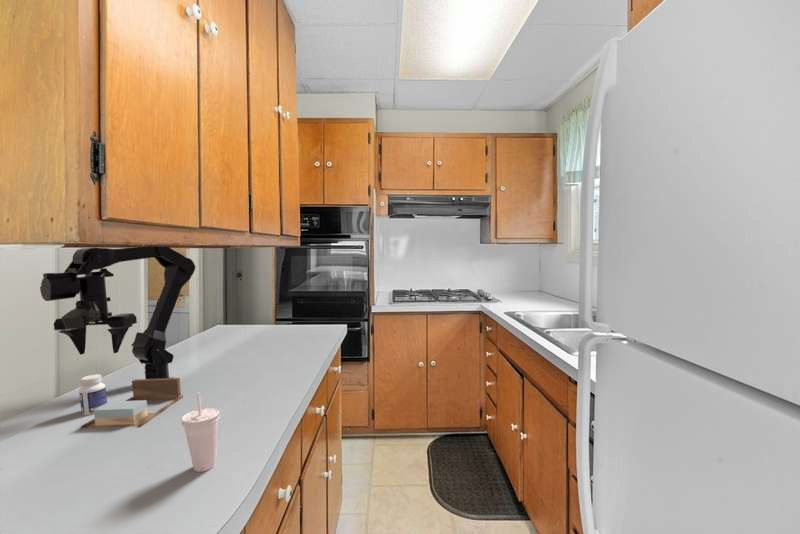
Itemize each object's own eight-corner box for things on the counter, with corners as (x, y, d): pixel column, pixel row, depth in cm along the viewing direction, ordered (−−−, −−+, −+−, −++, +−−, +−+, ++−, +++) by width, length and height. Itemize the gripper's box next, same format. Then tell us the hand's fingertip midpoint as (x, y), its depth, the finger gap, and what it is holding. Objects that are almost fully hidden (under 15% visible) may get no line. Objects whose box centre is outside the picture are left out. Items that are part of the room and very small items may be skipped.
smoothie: (181, 478, 74) (174, 400, 73) (189, 460, 80) (183, 388, 79) (221, 471, 76) (215, 395, 75) (225, 454, 82) (220, 383, 81)
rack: (133, 401, 113) (131, 379, 112) (184, 400, 112) (182, 377, 112) (81, 432, 95) (78, 406, 95) (141, 430, 94) (139, 404, 94)
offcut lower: (111, 416, 101) (110, 408, 101) (148, 415, 101) (147, 407, 101) (95, 425, 96) (94, 417, 96) (134, 424, 96) (133, 416, 96)
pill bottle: (112, 407, 108) (109, 372, 107) (98, 415, 103) (95, 379, 102) (91, 408, 108) (87, 374, 107) (76, 417, 103) (72, 381, 102)
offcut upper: (110, 408, 101) (109, 401, 101) (147, 407, 101) (146, 400, 100) (94, 417, 96) (93, 410, 96) (133, 416, 96) (132, 408, 95)
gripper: (31, 301, 105) (38, 363, 106) (105, 298, 104) (111, 361, 105) (68, 295, 116) (74, 351, 117) (135, 292, 115) (140, 349, 116)
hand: (99, 353), depth 113 cm, fingers open, 9 cm apart
